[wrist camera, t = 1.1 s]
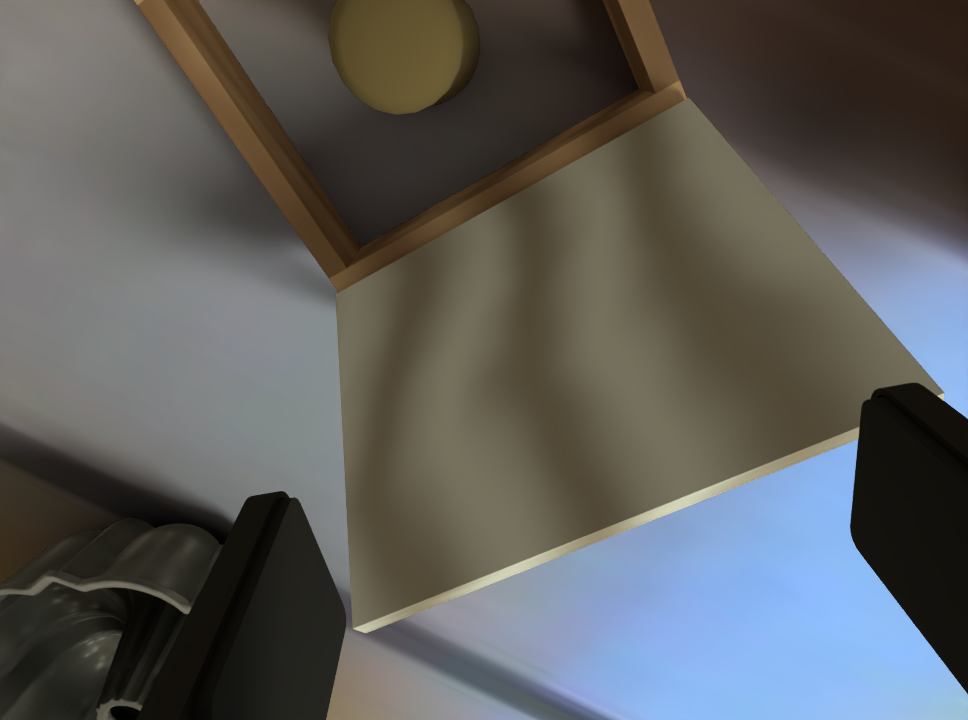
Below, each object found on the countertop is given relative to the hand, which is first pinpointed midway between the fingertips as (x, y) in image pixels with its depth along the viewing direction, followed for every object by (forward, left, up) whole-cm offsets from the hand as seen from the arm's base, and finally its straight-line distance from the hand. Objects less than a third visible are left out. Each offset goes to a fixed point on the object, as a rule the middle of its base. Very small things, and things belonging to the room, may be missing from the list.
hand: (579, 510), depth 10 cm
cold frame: (+1, -5, -28) cm, 29 cm away
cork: (+1, -9, -28) cm, 30 cm away
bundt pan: (+40, +17, -29) cm, 52 cm away
